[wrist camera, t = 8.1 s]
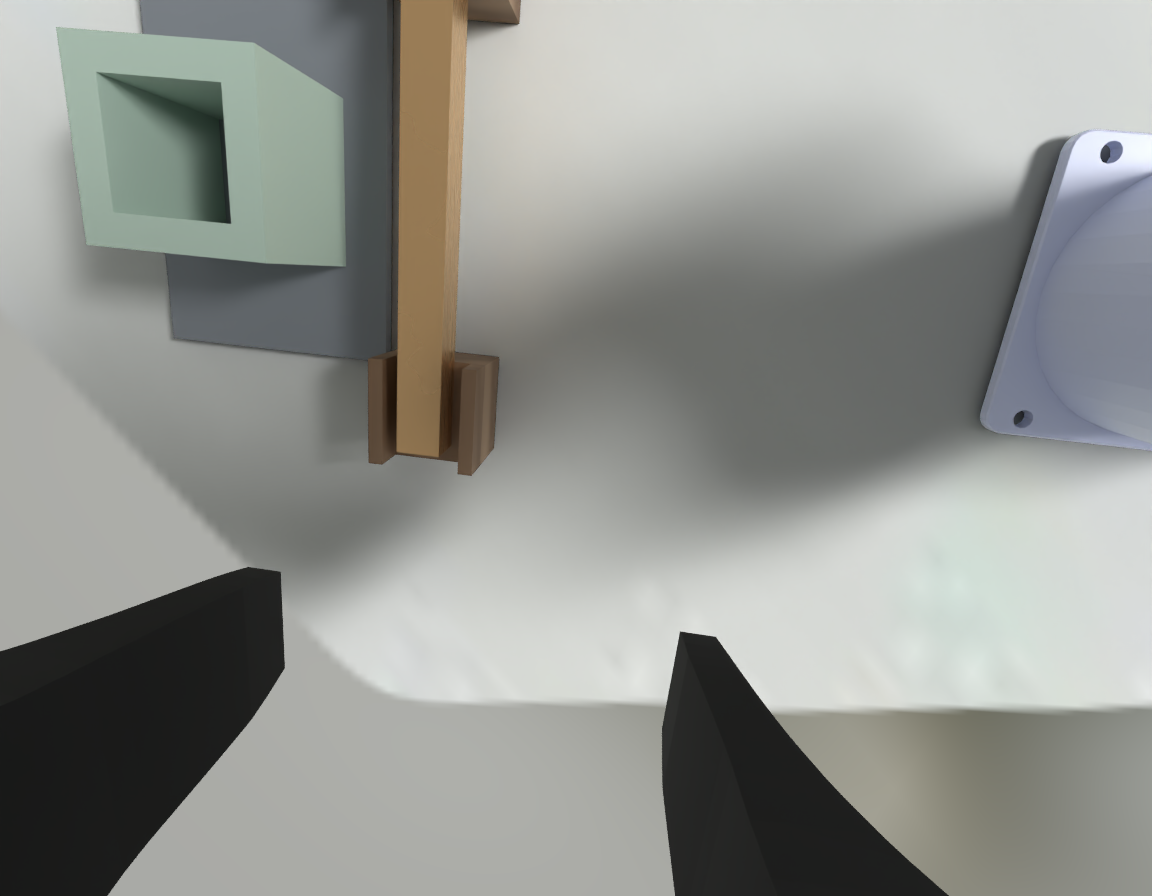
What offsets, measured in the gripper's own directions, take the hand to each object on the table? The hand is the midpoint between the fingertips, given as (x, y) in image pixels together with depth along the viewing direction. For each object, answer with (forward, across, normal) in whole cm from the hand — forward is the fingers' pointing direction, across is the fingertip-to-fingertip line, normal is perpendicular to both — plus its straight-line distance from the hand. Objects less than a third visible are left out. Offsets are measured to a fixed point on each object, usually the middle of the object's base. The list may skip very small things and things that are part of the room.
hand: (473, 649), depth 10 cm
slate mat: (+9, +9, -8) cm, 15 cm away
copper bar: (+8, +3, -8) cm, 12 cm away
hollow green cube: (+9, +9, -8) cm, 15 cm away
